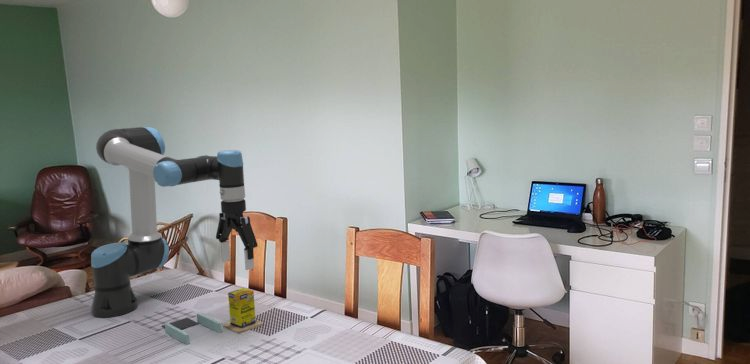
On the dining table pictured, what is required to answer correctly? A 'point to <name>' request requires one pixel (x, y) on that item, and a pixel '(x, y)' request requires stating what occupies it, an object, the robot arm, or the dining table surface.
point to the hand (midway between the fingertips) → (237, 265)
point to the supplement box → (241, 307)
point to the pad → (240, 330)
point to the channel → (184, 336)
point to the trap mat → (183, 323)
